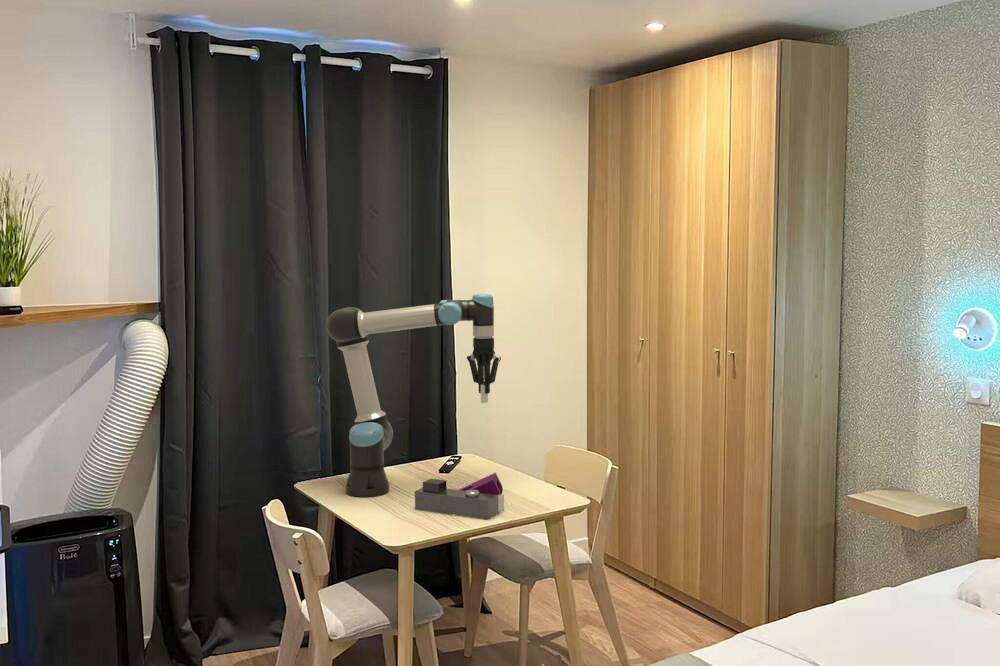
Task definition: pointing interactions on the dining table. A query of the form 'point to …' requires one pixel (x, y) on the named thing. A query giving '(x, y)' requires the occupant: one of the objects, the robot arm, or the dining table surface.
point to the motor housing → (457, 500)
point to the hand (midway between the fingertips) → (484, 402)
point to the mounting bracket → (486, 485)
